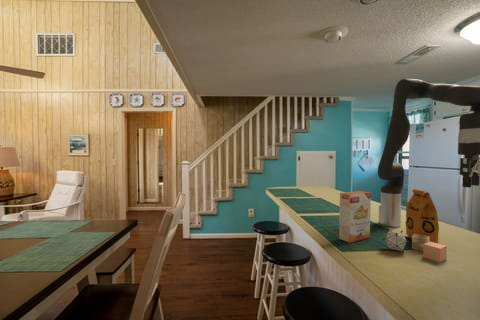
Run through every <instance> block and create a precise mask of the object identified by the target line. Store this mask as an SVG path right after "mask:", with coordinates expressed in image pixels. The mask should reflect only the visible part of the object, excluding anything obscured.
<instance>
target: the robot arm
mask: <svg viewBox="0 0 480 320" xmlns="http://www.w3.org/2000/svg"><path fill="white" fill-rule="evenodd" d="M417 99H431V100H432V101H436V102H440V103H441V102H442V103H446V104H447V103H448V104H450V105H455V106H460V107H470V109H469V110H468V112H466V113H462V114H461V115H460V117H459V120H458V121H459V124H458V125H459V129H458V135H457V136H458V137H457V155H459V156H464V157H460V159H459V161H460V162H459V163H460V164H459V175H460V176H461V177H462V187H463V188H472V186H477V187H478V186H480V85H459V84H455V83H454V84H451V83H430V82H427V81H425V80H421V79H417V78H416V79H415V78H402V79H400V80H399V81H398V82H397V84H396V85H395V88H394V95H393V100H392V101H393V102H392V111H391V115H390V120H389V123H388V124H389V125H388V129H387V134H386V140H385V142H384V143H385V144H384V147H383V150H382V155H381V158H380V159H379V164H378V166H377V175H378V177H379V179H380V180H382V181H387V182H386V183H385V184H384V185H382V186H381V187H380V205H379V206H378V223H379V224H381V225H382V226H387V227H393V228H397V227H399V228H400V227H401V226H402V190H403V188H404V181H405V170H404V166H403V165H402V164H401V163H399V162H394V161H395V159H396V155H397V154H398V152H399V151H400V150H401V149H402V148H403V147H404V146H405V144H406V143H407V141H408V139H409V135H410V133H411V122H410V119H409V116H408V115H407V112H406V105H407V100H417Z"/></svg>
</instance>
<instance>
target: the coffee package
mask: <svg viewBox="0 0 480 320" xmlns="http://www.w3.org/2000/svg"><path fill="white" fill-rule="evenodd" d="M411 192H412V193H413V194H412V195H411V197H410V198H409V200H408V201H407V203H406V205H405V206H406V209H405V210H406V211H405V213H406V214H405V219H406V220H405V224H404V225H405V235H407V236H408V237H409V238H411V239H412V236H413V235H414V234H420V235H426V236H430V242H434V243H438V244H439V231H440V226H439V217H438V211H437V208H436V206H435V203H434V201H433V199H432V197H431V195H430V193H429V192H427V191H424V190H420V189H416V188H414V189H412V190H411Z"/></svg>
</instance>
